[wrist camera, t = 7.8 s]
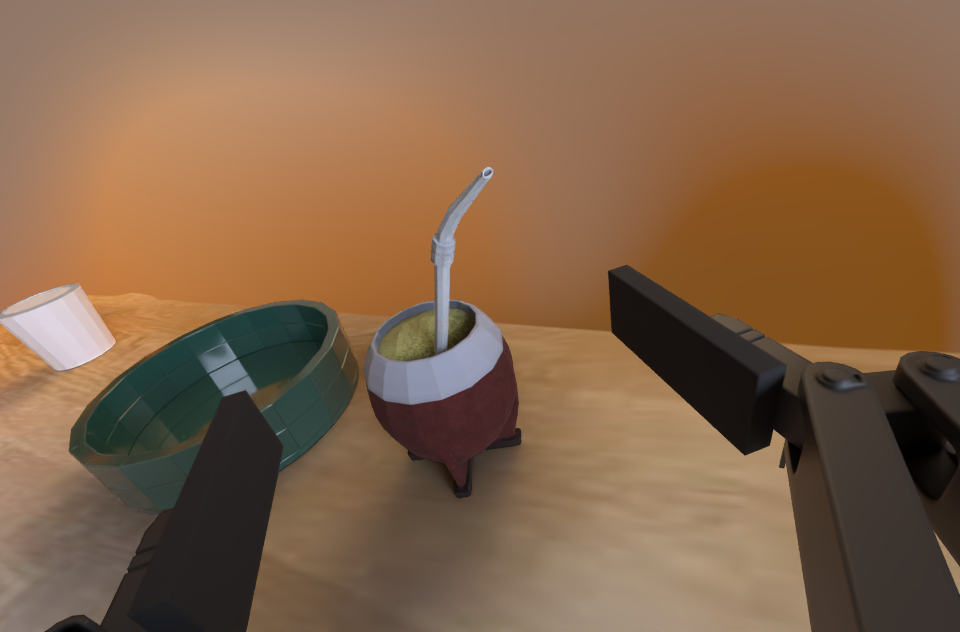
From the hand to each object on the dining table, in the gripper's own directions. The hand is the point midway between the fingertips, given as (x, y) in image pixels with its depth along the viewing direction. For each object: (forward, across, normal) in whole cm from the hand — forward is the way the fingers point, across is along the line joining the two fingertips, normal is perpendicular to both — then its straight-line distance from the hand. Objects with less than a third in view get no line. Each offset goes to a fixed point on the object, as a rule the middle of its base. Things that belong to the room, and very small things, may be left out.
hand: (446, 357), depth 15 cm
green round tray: (+15, -15, -9) cm, 23 cm away
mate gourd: (+4, 0, -9) cm, 10 cm away
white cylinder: (+35, -37, -9) cm, 52 cm away
